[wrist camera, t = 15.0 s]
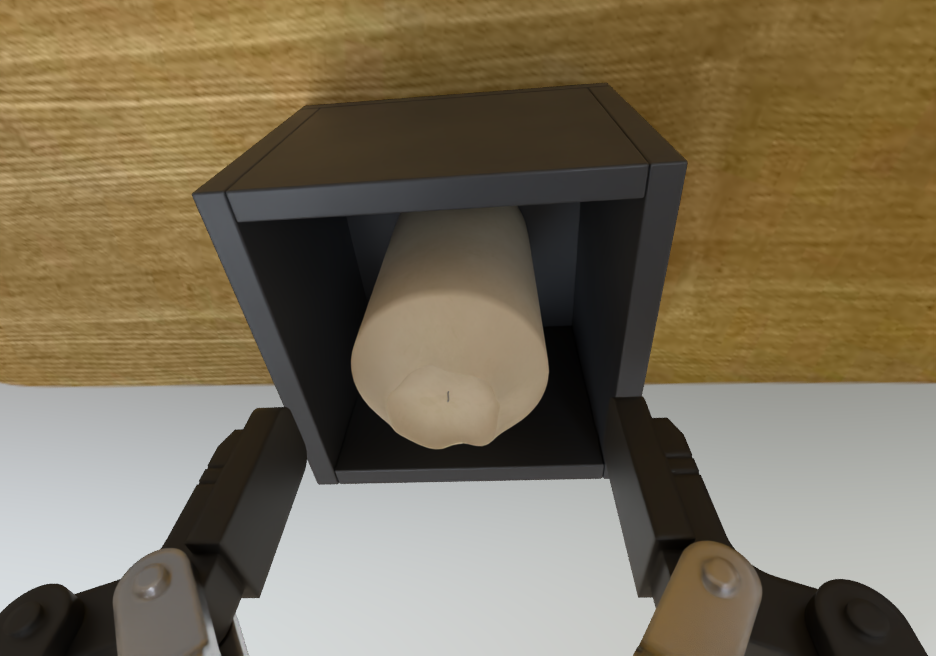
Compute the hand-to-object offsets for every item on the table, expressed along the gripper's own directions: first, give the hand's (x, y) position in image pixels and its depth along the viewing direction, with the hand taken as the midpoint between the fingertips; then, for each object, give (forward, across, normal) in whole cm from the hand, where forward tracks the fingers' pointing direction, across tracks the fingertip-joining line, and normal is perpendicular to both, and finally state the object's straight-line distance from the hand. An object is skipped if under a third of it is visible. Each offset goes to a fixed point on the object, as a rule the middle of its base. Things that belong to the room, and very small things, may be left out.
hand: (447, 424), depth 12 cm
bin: (+11, 0, 0) cm, 11 cm away
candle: (+10, 0, 0) cm, 10 cm away
